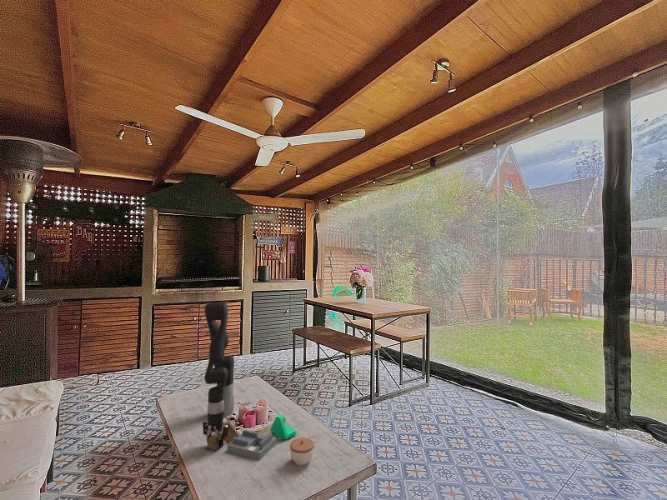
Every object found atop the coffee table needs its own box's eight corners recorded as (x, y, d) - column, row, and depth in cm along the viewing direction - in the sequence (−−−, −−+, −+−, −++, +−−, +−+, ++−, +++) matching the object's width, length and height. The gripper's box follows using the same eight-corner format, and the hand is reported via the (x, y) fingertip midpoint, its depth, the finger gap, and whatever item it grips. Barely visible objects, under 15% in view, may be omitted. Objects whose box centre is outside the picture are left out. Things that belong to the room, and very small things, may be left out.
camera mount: (296, 435, 170) (297, 415, 170) (285, 441, 164) (285, 420, 165) (282, 427, 178) (282, 408, 178) (270, 433, 172) (270, 413, 173)
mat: (215, 441, 164) (215, 441, 164) (225, 444, 161) (225, 443, 161) (204, 449, 157) (204, 448, 157) (215, 452, 155) (215, 451, 155)
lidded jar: (291, 454, 154) (292, 433, 154) (314, 454, 153) (315, 434, 154) (288, 468, 143) (288, 446, 143) (312, 469, 143) (312, 447, 143)
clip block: (215, 442, 162) (215, 433, 162) (222, 444, 161) (222, 434, 161) (208, 448, 158) (208, 438, 158) (214, 449, 156) (215, 440, 156)
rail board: (245, 436, 168) (245, 424, 169) (276, 443, 162) (276, 431, 162) (227, 451, 155) (227, 438, 156) (260, 459, 149) (260, 446, 149)
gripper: (233, 409, 161) (232, 444, 160) (209, 404, 166) (208, 438, 165) (222, 415, 154) (222, 452, 153) (198, 410, 159) (197, 446, 158)
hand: (215, 445), depth 159 cm, fingers open, 6 cm apart
